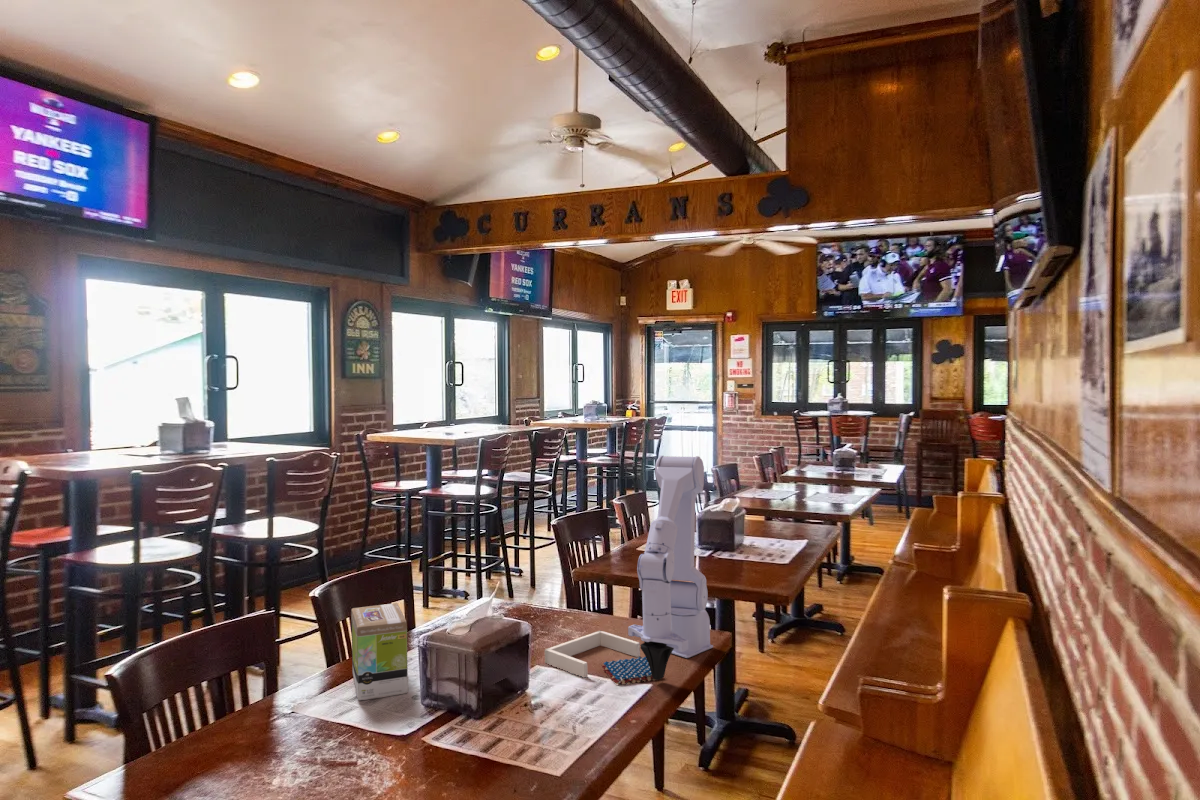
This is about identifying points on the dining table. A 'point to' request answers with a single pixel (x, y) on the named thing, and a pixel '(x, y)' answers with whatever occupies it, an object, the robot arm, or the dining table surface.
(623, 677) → the woven mat
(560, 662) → the frame
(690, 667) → the dining table surface
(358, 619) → the tea box
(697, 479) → the robot arm
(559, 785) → the dining table surface
